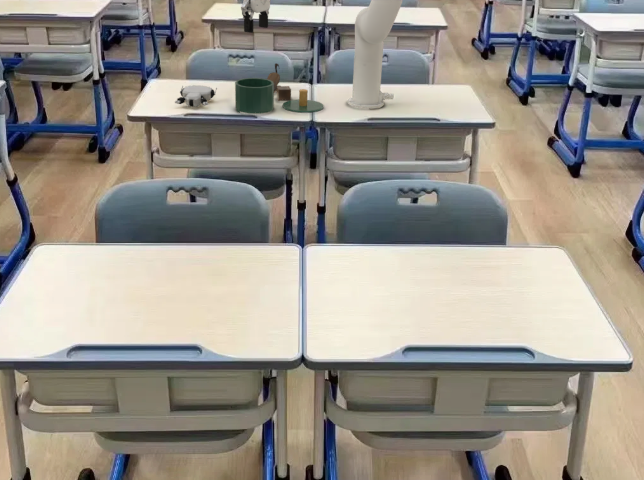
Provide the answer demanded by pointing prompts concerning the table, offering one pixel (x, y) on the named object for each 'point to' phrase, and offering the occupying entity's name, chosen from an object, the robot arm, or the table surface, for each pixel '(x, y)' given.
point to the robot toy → (196, 95)
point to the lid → (303, 104)
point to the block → (283, 93)
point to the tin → (254, 95)
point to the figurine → (274, 78)
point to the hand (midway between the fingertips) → (256, 29)
